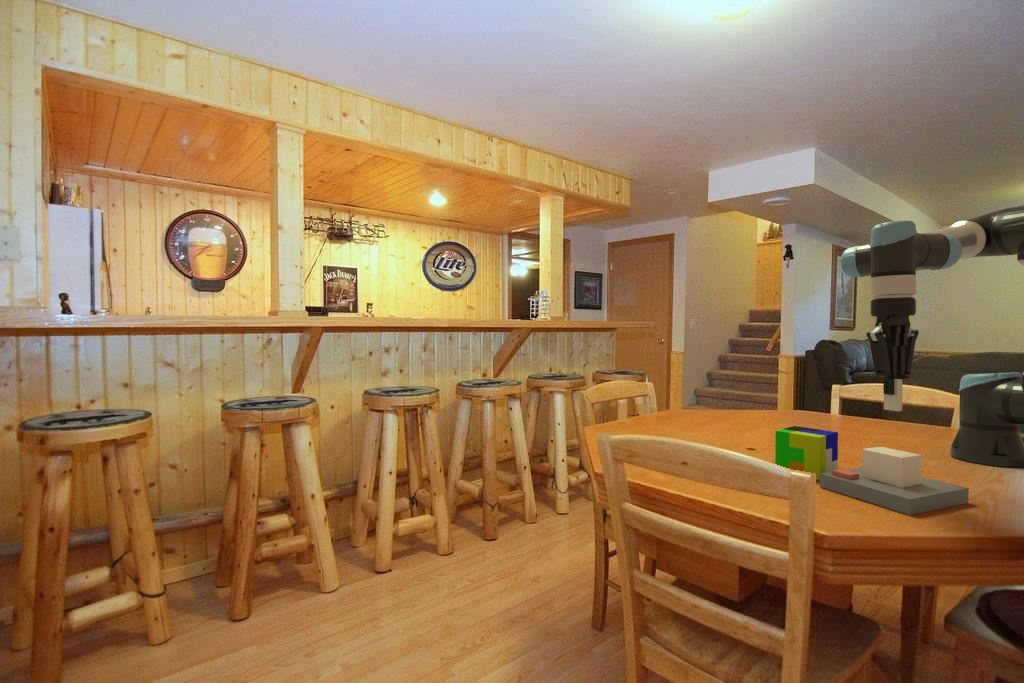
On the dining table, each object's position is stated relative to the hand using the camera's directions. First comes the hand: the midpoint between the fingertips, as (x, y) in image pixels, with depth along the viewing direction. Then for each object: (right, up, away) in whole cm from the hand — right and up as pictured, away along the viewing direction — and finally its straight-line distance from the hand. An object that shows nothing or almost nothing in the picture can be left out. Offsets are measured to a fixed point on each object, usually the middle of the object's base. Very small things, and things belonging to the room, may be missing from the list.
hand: (893, 409), depth 105 cm
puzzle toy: (-8, -18, +18) cm, 26 cm away
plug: (0, -18, 0) cm, 18 cm away
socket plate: (0, -18, 0) cm, 18 cm away
